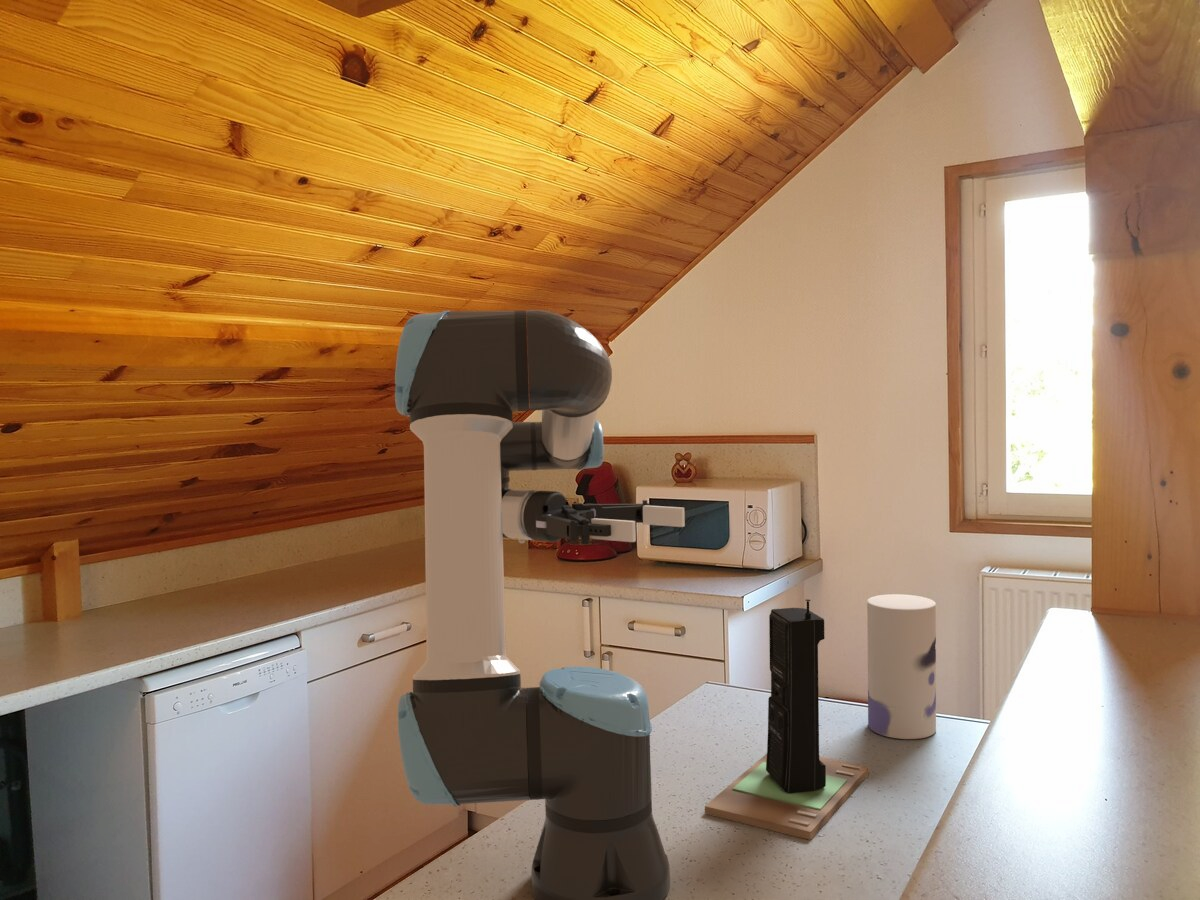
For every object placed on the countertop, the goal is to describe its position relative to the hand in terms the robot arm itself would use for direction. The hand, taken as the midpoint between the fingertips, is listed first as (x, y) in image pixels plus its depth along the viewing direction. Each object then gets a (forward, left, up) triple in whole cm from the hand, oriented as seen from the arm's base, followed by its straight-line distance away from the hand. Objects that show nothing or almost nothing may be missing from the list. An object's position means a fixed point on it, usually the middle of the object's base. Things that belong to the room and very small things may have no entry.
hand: (660, 524), depth 133 cm
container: (+32, -24, -35) cm, 53 cm away
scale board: (+2, -18, -35) cm, 39 cm away
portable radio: (+3, -18, -34) cm, 38 cm away
